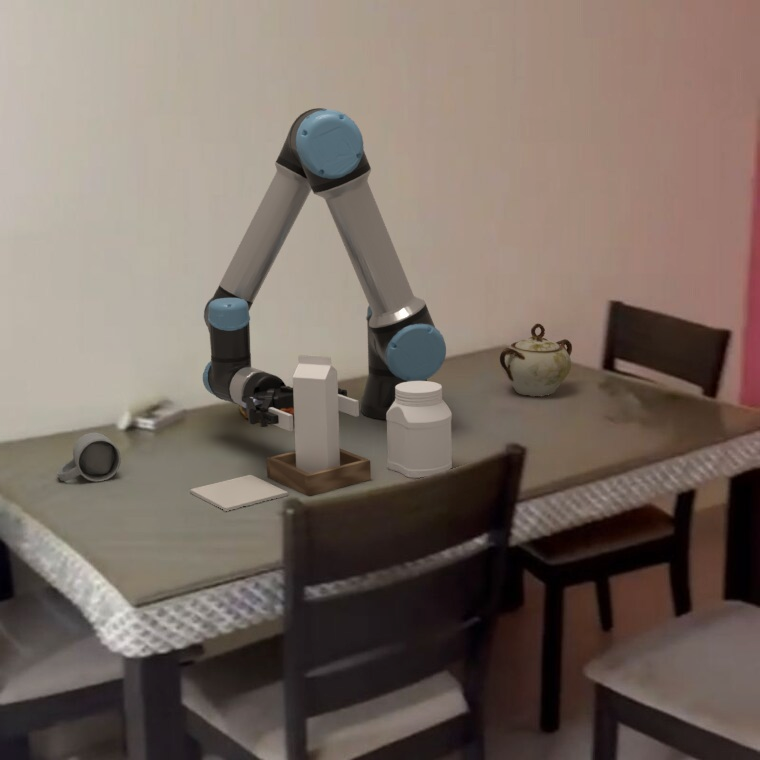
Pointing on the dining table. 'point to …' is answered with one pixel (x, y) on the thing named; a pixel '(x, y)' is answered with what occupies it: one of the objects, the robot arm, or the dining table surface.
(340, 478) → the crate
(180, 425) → the dining table surface
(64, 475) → the ceramic mug
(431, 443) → the jar
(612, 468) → the dining table surface
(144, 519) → the dining table surface
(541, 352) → the sugar bowl
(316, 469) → the milk
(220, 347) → the robot arm
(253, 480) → the tile
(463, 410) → the dining table surface
